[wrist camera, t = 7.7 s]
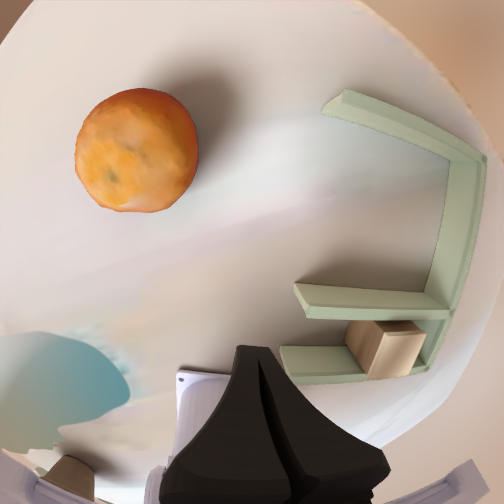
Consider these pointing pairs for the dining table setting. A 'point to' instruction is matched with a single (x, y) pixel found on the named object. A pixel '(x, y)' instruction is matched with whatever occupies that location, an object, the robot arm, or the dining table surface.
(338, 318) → the divider frame
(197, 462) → the robot arm
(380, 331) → the walnut box
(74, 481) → the flower pot
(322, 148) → the dining table surface
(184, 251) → the dining table surface
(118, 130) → the fruit
